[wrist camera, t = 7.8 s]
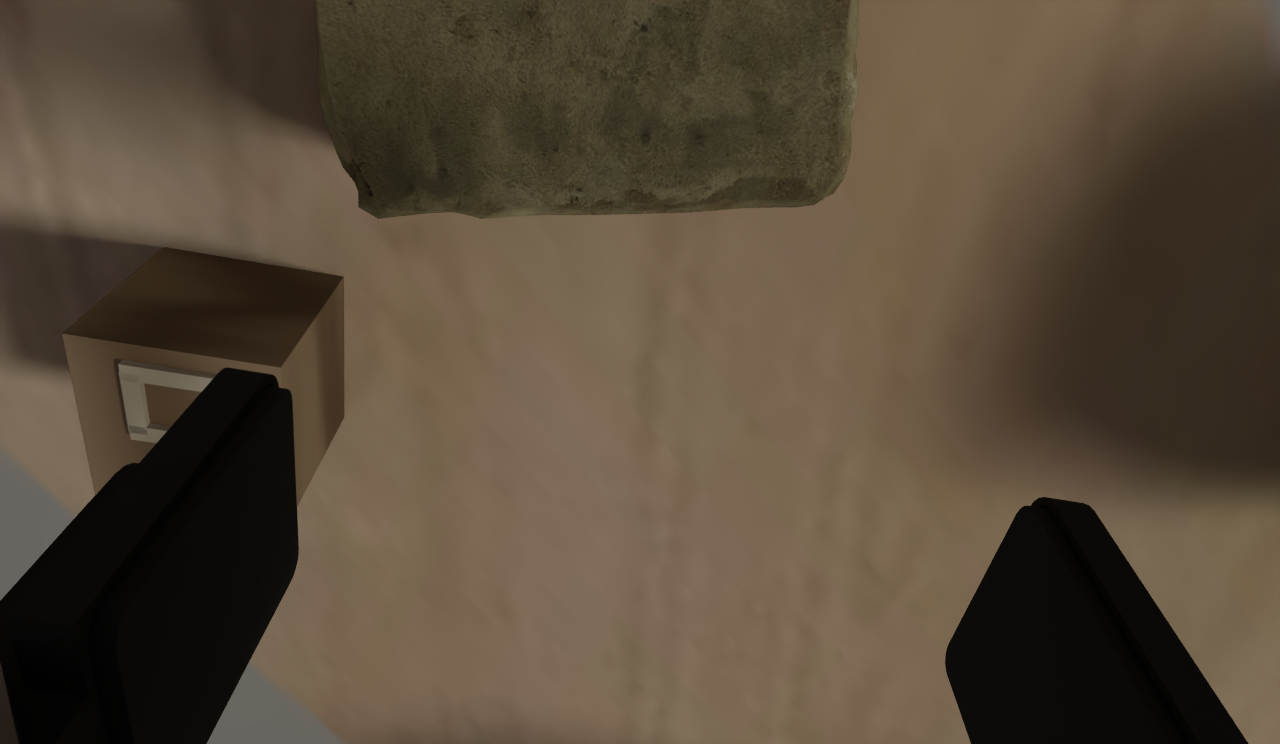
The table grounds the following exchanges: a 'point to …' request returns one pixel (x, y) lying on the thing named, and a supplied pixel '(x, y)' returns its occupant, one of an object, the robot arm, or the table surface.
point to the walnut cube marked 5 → (205, 352)
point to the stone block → (588, 103)
